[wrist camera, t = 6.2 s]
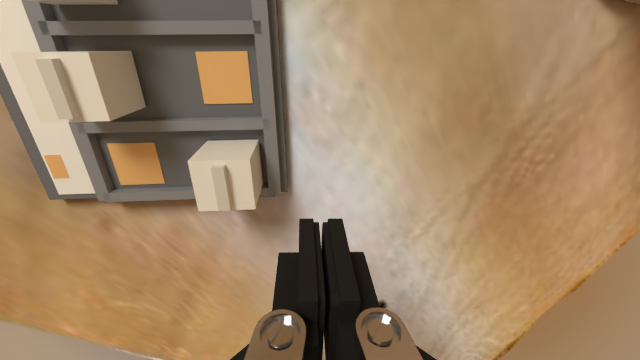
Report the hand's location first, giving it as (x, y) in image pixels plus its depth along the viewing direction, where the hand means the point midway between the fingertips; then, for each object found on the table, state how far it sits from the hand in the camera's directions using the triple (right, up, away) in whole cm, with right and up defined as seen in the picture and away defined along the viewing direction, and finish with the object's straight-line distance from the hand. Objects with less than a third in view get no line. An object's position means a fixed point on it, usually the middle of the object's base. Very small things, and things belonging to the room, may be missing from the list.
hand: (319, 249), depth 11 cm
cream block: (-7, +4, +12) cm, 15 cm away
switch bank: (-13, +10, +10) cm, 20 cm away
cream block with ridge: (-15, +10, +9) cm, 20 cm away
